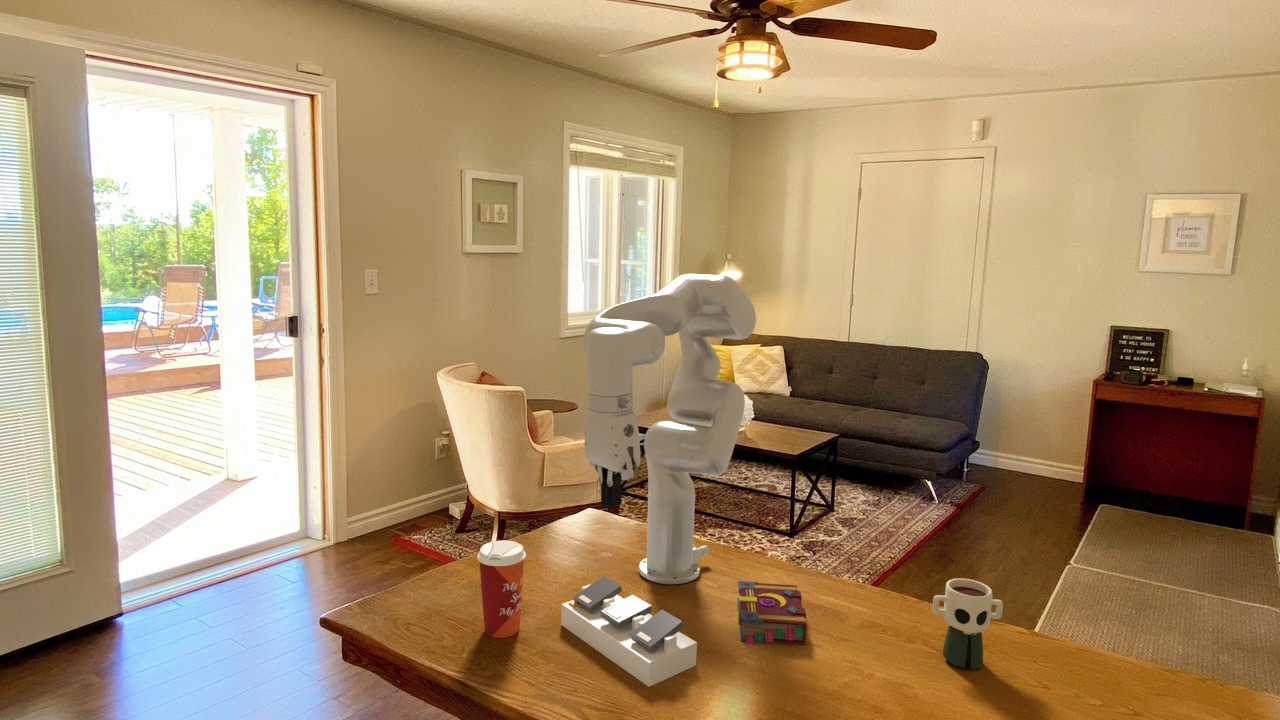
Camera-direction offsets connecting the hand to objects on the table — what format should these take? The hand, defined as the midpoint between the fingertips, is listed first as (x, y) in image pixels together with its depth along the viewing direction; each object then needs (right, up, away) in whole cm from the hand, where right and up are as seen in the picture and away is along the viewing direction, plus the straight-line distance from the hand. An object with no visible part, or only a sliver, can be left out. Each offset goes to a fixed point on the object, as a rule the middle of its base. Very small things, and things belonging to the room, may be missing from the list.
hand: (611, 504), depth 134 cm
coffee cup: (-19, -22, +2) cm, 29 cm away
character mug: (+58, -25, -5) cm, 64 cm away
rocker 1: (-2, -17, +3) cm, 17 cm away
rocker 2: (+8, -19, -9) cm, 22 cm away
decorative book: (+28, -23, +6) cm, 37 cm away
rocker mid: (+3, -18, -3) cm, 18 cm away
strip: (+2, -23, -1) cm, 23 cm away
